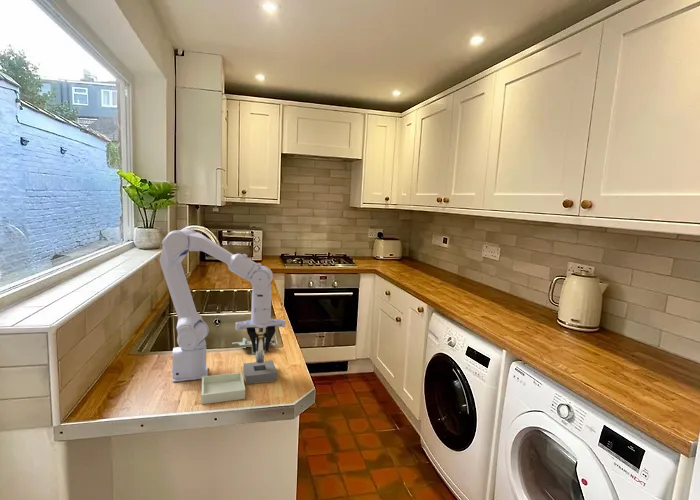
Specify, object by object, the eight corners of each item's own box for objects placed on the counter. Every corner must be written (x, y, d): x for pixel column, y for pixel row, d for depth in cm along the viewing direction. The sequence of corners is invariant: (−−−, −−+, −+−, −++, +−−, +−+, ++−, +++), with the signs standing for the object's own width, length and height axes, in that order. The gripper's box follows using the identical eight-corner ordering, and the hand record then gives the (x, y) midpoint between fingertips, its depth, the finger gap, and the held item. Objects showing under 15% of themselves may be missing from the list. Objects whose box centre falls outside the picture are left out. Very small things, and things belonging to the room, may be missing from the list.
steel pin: (255, 364, 112) (255, 336, 111) (254, 360, 115) (254, 332, 114) (266, 363, 113) (266, 335, 112) (264, 359, 116) (265, 331, 115)
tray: (201, 404, 97) (201, 395, 97) (202, 384, 107) (202, 376, 107) (245, 398, 101) (245, 389, 100) (241, 380, 111) (241, 372, 111)
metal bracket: (278, 336, 133) (234, 340, 127) (279, 353, 132) (235, 357, 127) (271, 334, 146) (231, 338, 141) (272, 350, 145) (231, 353, 140)
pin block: (246, 384, 109) (246, 376, 108) (243, 371, 117) (243, 363, 117) (277, 380, 112) (277, 372, 111) (272, 367, 120) (272, 360, 120)
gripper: (237, 312, 105) (236, 358, 107) (287, 309, 111) (286, 353, 112) (235, 305, 112) (234, 349, 114) (283, 303, 117) (282, 345, 119)
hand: (260, 350), depth 113 cm, fingers closed on steel pin, 3 cm apart
